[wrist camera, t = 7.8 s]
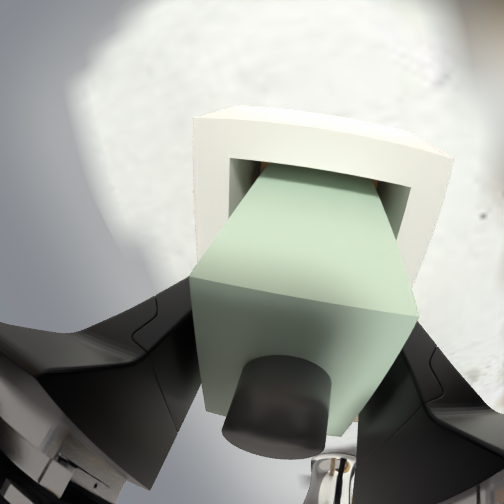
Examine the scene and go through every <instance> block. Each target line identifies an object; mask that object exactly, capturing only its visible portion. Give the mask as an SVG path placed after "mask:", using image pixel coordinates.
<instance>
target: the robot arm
mask: <svg viewBox="0 0 504 504" xmlns="http://www.w3.org/2000/svg"><path fill="white" fill-rule="evenodd" d="M155 297H156V298H155ZM201 383H202V382H201V376H200V369H199V361H198V354H197V346H196V338H195V330H194V322H193V313H192V303H191V293H190V283H189V277H187V278H185V279H184V280H182V281H180V282H178V283H176V284H175V285H173V286H171V287H169V288H167V289H166V290H164V291H162V292H160V293H159V294H157V295H156V296H153V297H151V298H150V299H148V300H146V301H144V302H142V303H141V304H138V305H136V306H135V307H133V308H131V309H129V310H126V311H124V312H122V313H120V314H118V315H116V316H113V317H111V318H109V319H107V320H104V321H102V322H100V323H98V324H95V325H93V326H91V327H89V328H87V329H84V330H81V331H78V332H74V333H56V332H49V331H43V330H37V329H31V328H24V327H19V326H14V325H9V324H5V323H2V322H0V504H115V503H116V501H117V499H118V496H119V494H120V492H121V490H122V488H123V486H124V484H125V482H126V480H127V481H129V482H131V483H134V484H136V485H138V486H140V487H142V488H145V489H147V490H150V489H151V488H152V486H153V484H154V482H155V479H156V478H157V475H158V473H159V471H160V469H161V467H162V465H163V463H164V461H165V459H166V457H167V455H168V453H169V451H170V448H171V446H172V444H173V442H174V440H175V438H176V436H177V432H178V431H179V429H180V427H181V425H182V423H183V421H184V419H185V417H186V415H187V413H188V410H189V408H190V406H191V404H192V402H193V400H194V398H195V396H196V394H197V391H198V389H199V387H200V385H201ZM352 504H504V414H500V413H498V412H496V411H494V410H493V409H491V408H490V407H489V406H488V405H487V404H486V403H485V402H484V401H483V400H482V398H481V397H480V396H479V395H478V394H477V393H476V392H475V390H474V389H473V388H472V387H471V386H470V385H469V384H468V382H467V381H466V380H465V379H464V378H463V377H462V376H461V374H460V373H459V372H458V371H457V370H456V369H455V367H454V366H453V365H452V364H451V363H450V361H449V360H448V359H447V358H446V356H445V355H444V354H443V352H442V351H441V350H440V349H439V347H437V345H436V344H435V342H434V341H433V340H432V339H431V337H430V336H429V335H428V334H427V332H426V331H425V330H424V329H423V327H422V326H421V325H420V324H419V322H418V321H417V322H416V324H415V326H414V328H413V330H412V332H411V333H410V335H409V337H408V339H407V341H406V342H405V344H404V346H403V348H402V349H401V351H400V353H399V354H398V356H397V358H396V359H395V361H394V363H393V364H392V366H391V367H390V369H389V371H388V372H387V374H386V375H385V377H384V378H383V380H382V381H381V383H380V384H379V386H378V387H377V389H376V390H375V392H374V393H373V395H372V396H371V398H370V399H369V400H368V402H367V403H366V405H365V406H364V407H363V409H362V410H361V411H360V413H359V414H358V437H357V455H356V468H355V478H354V488H353V497H352Z"/></svg>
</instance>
